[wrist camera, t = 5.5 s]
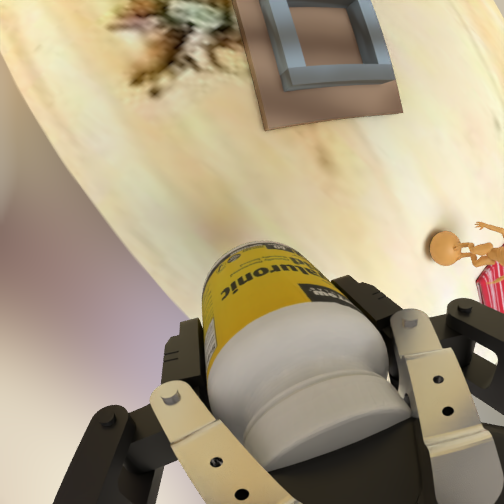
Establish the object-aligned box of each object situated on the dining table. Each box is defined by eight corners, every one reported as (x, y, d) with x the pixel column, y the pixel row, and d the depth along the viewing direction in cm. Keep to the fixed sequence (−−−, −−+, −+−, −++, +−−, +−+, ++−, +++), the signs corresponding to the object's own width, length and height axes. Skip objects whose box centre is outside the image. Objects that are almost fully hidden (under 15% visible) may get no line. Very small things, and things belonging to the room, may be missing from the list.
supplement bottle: (320, 238, 14) (477, 357, 5) (304, 338, 16) (395, 490, 6) (201, 235, 13) (219, 406, 4) (200, 342, 15) (219, 529, 5)
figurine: (413, 224, 31) (494, 256, 19) (445, 196, 30) (525, 218, 19) (432, 279, 33) (500, 320, 22) (461, 251, 33) (529, 283, 22)
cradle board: (227, -17, 20) (232, -38, 16) (355, -17, 22) (372, -32, 18) (264, 130, 25) (276, 126, 21) (394, 114, 27) (418, 110, 23)
